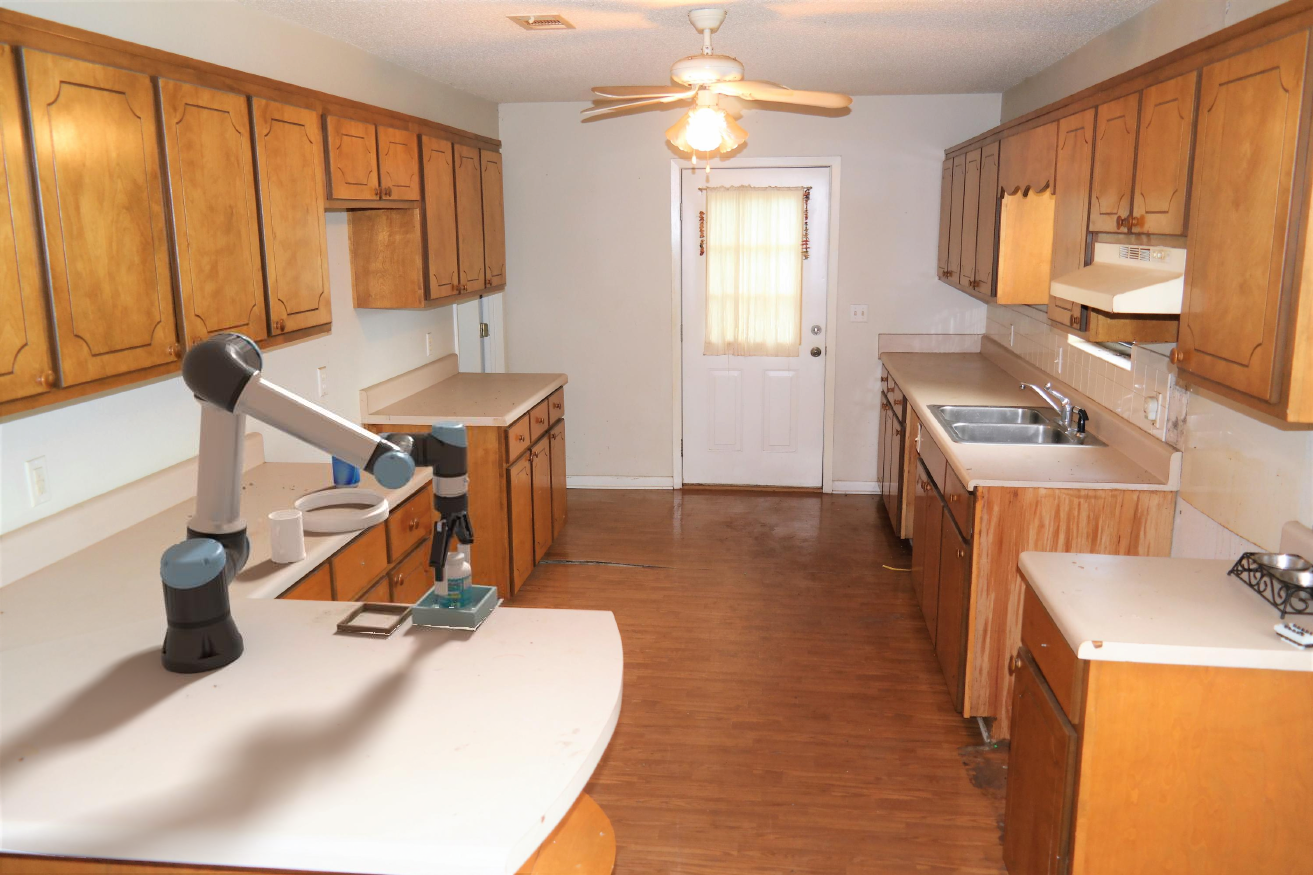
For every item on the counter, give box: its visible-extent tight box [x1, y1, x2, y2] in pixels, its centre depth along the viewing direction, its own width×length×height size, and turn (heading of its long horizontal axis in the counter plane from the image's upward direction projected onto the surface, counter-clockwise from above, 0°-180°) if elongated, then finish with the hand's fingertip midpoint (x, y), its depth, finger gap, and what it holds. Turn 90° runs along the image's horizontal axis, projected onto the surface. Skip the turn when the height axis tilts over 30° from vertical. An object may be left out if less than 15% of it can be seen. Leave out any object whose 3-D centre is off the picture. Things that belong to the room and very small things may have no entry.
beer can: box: [331, 455, 361, 489], centre depth 305 cm, size 8×8×16 cm
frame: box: [336, 601, 413, 634], centre depth 206 cm, size 12×12×2 cm
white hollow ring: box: [292, 487, 390, 533], centre depth 275 cm, size 27×27×6 cm
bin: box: [411, 584, 498, 628], centre depth 210 cm, size 15×15×4 cm
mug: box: [268, 509, 307, 564], centre depth 240 cm, size 12×8×12 cm
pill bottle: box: [438, 551, 473, 611], centre depth 209 cm, size 8×7×14 cm
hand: (453, 582), depth 209 cm, fingers open, 13 cm apart
